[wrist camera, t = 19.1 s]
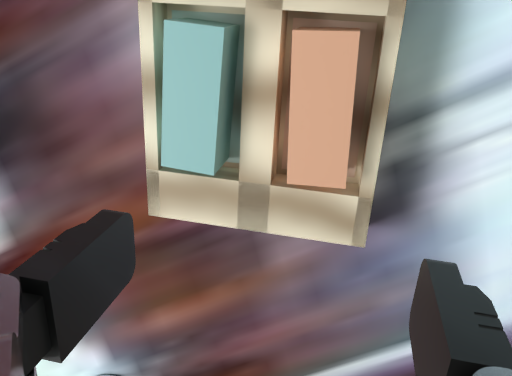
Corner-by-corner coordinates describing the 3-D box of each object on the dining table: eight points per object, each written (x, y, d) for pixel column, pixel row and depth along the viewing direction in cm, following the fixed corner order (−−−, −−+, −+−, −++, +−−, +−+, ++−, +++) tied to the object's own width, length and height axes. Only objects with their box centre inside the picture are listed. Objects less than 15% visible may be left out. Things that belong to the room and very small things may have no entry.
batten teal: (186, 17, 32) (163, 19, 28) (240, 24, 31) (224, 27, 28) (181, 149, 36) (160, 165, 32) (228, 157, 35) (213, 175, 32)
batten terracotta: (300, 26, 30) (292, 30, 27) (360, 28, 30) (360, 31, 26) (294, 164, 34) (286, 183, 31) (347, 168, 34) (345, 188, 30)
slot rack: (364, 226, 36) (364, 247, 33) (165, 197, 39) (148, 215, 36) (410, -52, 28) (416, -59, 25) (157, -60, 31) (134, -67, 28)
